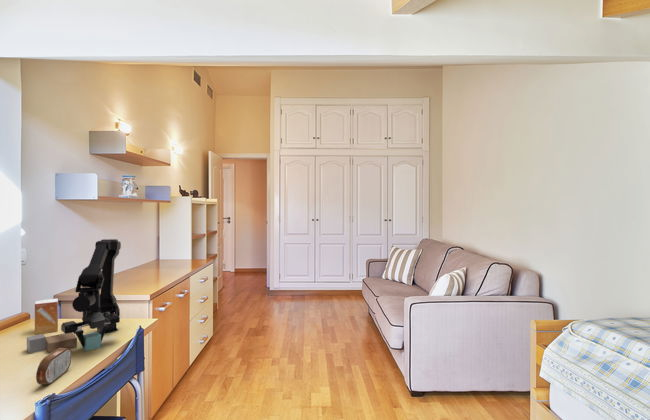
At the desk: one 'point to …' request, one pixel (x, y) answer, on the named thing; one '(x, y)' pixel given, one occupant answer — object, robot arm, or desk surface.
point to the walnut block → (61, 342)
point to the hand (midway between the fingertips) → (91, 344)
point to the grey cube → (36, 343)
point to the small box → (46, 316)
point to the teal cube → (92, 341)
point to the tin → (53, 366)
